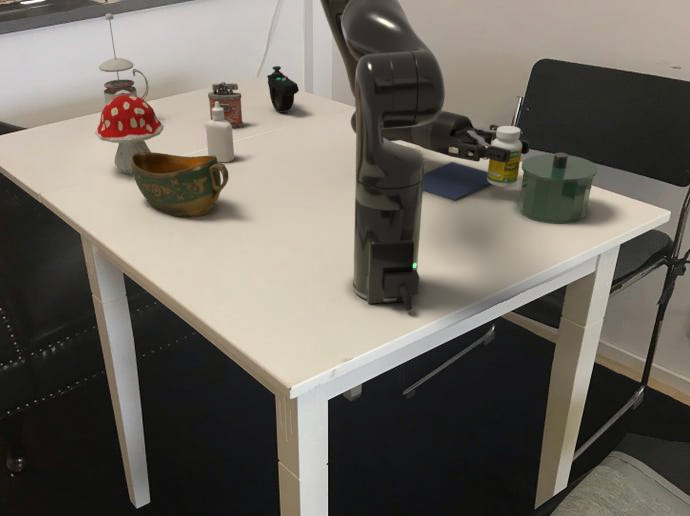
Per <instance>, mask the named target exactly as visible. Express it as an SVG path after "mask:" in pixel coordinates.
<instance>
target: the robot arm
mask: <svg viewBox="0 0 690 516" xmlns="http://www.w3.org/2000/svg"><path fill="white" fill-rule="evenodd" d="M319 2H320V5H321V8H322V10H323V14H324V17H325V19H326V21H327V24H328V27H329V29H330V32H331V35H332V37H333V39H334V42H335V44H336V46H337V49H338V51H339V53H340V56H341V58H342V62H343V64H344V68H345V71H346V75H347V78H348V79H347V80H348V82H349V88H350V91H351V93H352V96H353V97H354V104H355V111H354V112H353V113H352V115H351V118H350V126H351V129H352V131H353V132H354V133H355V139H356V140H355V194H354V195H355V196H354V230H353V231H354V237H353V278H352V290H353V292H354V293H355V294H356V295H357V296H359V297H361V298H362V299H364V300H366V301H367V303H368V304H384V303H402V302H403V305H404V310H405V311H407V312H410V311H412V310H413V305H412V296H417V295H419V285H420V275H419V273H418V265H419V264H418V263H419V252H420V250H419V249H420V238H421V225H422V224H421V223H422V211H423V210H422V209H423V196H424V190H423V185H424V174H425V169H426V161H425V157H424V156H423V155H422V153H420V152H419V151H417V150H416V149H414V148H412V147H409V146H406V145H402V144H399V143H396V142H397V141H398V142H399V141H401V142H405V143H408V144H411V145H415V146H418V147H420V148H422V149H425V150H427V151H431V152H434V153H438V154H442V155H445V156H448V157H450V158H451V157H452V158H457V159H461V160H467V161H472V162H480V161H481V159H482V160H483V161H487V160H489V159H492V160H496V161H499V162H503V163H507V162H509V161H510V155H511V151H510V150H508V149H504V148H500V147H497V146H491V144H492V142H493V140H495V139H496V138H497V137H496V133H497V128H499V127H500V126H499V125H496V124H490V125H489V128H488V129H487V128H485V127H483V126H481V127H480V126H475V127H474V125H473V122H472V120H471V119H470V118H469V117H468V116H466V115H464V114H463V115H462V114H459V113H454V112H450V111H446V110H442V109H443V107H444V102H445V96H446V88H445V81H444V74H443V71H442V68H441V65H440V63H439V61H438V59H437V57H436V55H435V54H434V52H433V51H432V50H431V48H429V47H428V45H426V43H425V42H424V41H423V40H422V39H421V38H420V37H419V36H418V35H417V33H416V32H415V30H414V29H413V27H412V26H411V24H410V22H409V20H408V17H407V15H406V13H405V11H404V9H403V7H402V5H401V3H400V2H399V0H319ZM518 140H520V141H521V143H522V151H521V155H527V154H528V153H529V152H530V147H531V142H530V141H528V140H525V139H522V138H518Z"/></svg>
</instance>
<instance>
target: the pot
mask: <svg viewBox="0 0 690 516" xmlns="http://www.w3.org/2000/svg"><path fill="white" fill-rule="evenodd" d="M593 180H594V177H592V178H590V179H587V180H584V181H578V182H554V181H547V180H542V179H538V178H535V177H533V176H530V175H528V174H527V173H525V172H524V171H523V173H522V181H521V187H520V192H519V193H520V194H519V200H518V211H519V213H520V214H521V215H523V216H524V217H526V218H528V219H531V220H533V221H536V222H541V223H545V224H546V223H547V224H569V223H574V222H578V221H580V220H582V219H583V218H584V217H585V216H586V214H587V209H588V204H589V199H590V195H591V189H592V185H593Z"/></svg>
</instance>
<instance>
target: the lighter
mask: <svg viewBox="0 0 690 516" xmlns="http://www.w3.org/2000/svg"><path fill="white" fill-rule="evenodd" d="M211 89H212V91H210V92H208V93H207V98H208V102H209V113H210V120H213V119H212V109H213V108H214V107H215V102H219V105H220V107H221V108H223V110H224V120H226V121H228V122H229V123H230V124H231V126H232V129H242V128H243V127H244V122H243V112H242V93H240V92H234V91H237V90H239V85H238V83H234V82H229V83H226V81H221V82H220V83H212V84H211Z"/></svg>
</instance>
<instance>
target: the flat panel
mask: <svg viewBox="0 0 690 516" xmlns="http://www.w3.org/2000/svg"><path fill="white" fill-rule="evenodd" d="M487 175H488V171H487V170H483V169H479V168H476V167H471V166H468V165H464V164H461V163H457V162H453V161H451V162H449V163H446V164H444V165H442V166H439V167H437V168H435V169H432V170H430V171H428V172H424V185H423V192H427V193H430V194H433V195H436V196H441V197H443V198H445V199H448V200H449V199H450V200H453V201H458V200H460V199H462V198H464V197H466V196H468V195H470V194H472V193H474V192H477V191H479V190H480V189H483V188H485V187H487V186H489V185H492V184H491V183H489V182H488V180H487Z"/></svg>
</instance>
